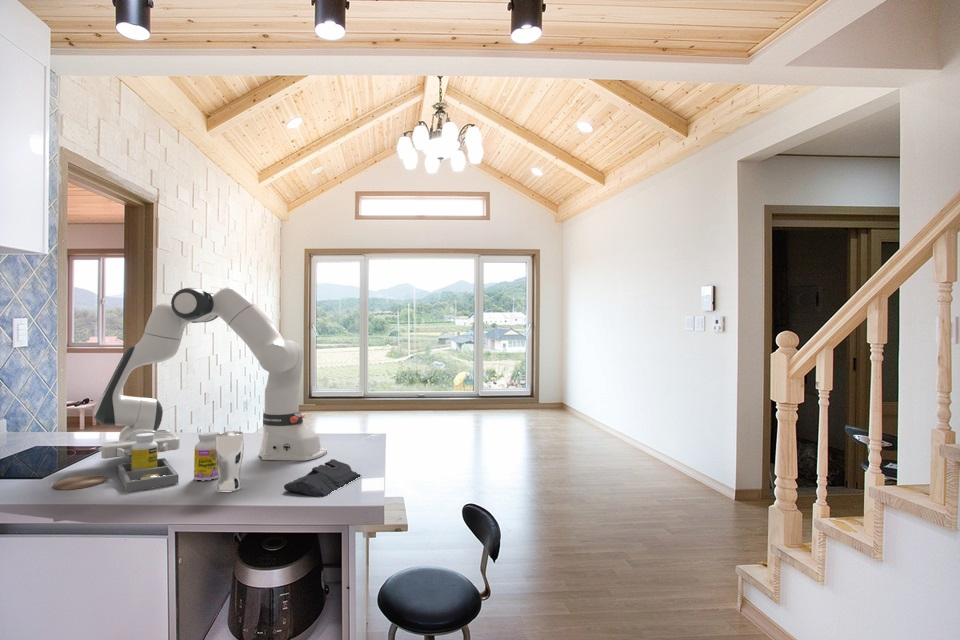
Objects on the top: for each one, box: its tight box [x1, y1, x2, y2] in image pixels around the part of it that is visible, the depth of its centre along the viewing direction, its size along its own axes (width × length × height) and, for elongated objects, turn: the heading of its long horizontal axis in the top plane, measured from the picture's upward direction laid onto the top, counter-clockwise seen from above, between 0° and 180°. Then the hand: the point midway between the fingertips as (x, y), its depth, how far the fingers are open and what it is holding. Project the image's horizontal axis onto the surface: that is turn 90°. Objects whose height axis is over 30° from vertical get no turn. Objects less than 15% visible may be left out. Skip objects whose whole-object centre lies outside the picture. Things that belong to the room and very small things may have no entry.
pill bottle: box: [130, 433, 158, 471], centre depth 155 cm, size 6×6×12 cm
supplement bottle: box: [193, 431, 218, 481], centre depth 151 cm, size 7×7×13 cm
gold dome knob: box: [140, 474, 159, 480], centre depth 146 cm, size 4×4×2 cm
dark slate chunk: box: [283, 458, 362, 498], centre depth 147 cm, size 15×22×5 cm
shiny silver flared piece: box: [215, 430, 245, 492], centre depth 141 cm, size 7×7×15 cm
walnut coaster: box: [52, 474, 108, 491], centre depth 145 cm, size 12×12×1 cm
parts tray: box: [117, 457, 180, 493], centre depth 151 cm, size 23×12×2 cm, turn 39°
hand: (144, 451), depth 155 cm, fingers open, 8 cm apart
